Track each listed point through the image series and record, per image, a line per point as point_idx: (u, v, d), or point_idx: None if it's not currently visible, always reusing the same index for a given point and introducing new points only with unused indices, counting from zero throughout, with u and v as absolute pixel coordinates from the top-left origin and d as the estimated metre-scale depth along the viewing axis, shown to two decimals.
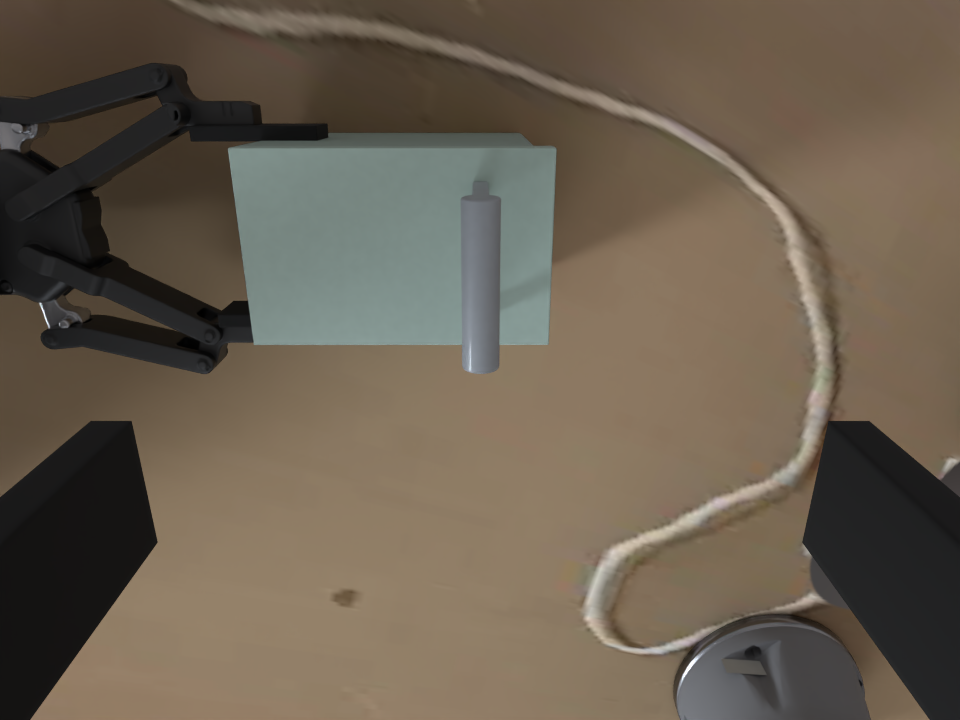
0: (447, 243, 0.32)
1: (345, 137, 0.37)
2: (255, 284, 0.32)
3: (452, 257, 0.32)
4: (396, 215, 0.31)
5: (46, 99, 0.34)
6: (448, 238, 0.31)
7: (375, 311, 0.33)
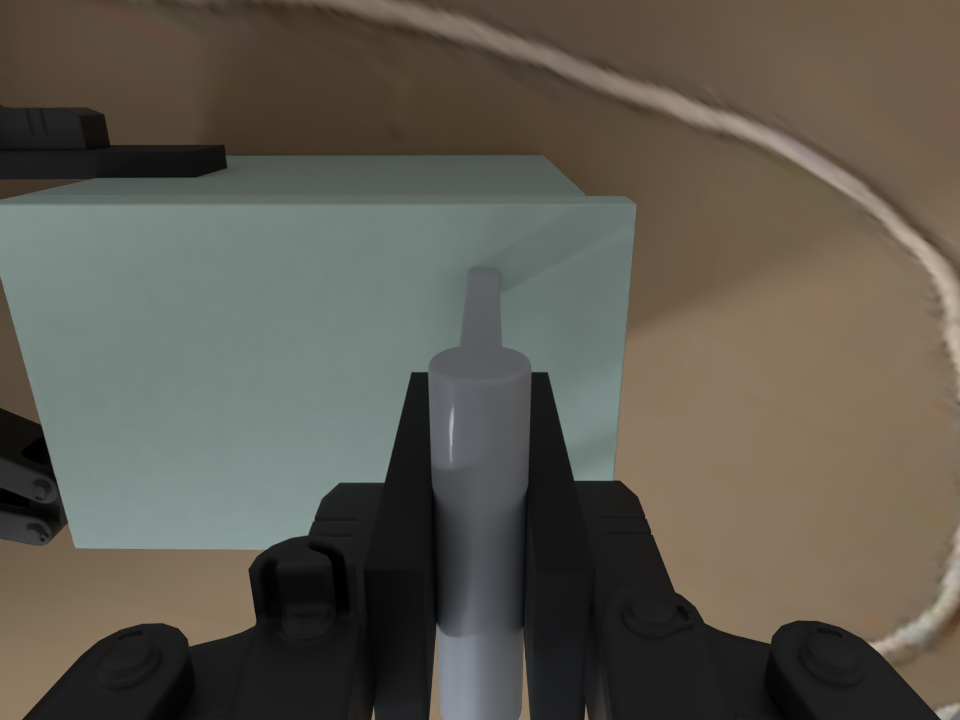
0: None
1: (255, 167, 0.22)
2: (65, 450, 0.17)
3: None
4: (320, 330, 0.16)
5: None
6: None
7: (290, 496, 0.18)
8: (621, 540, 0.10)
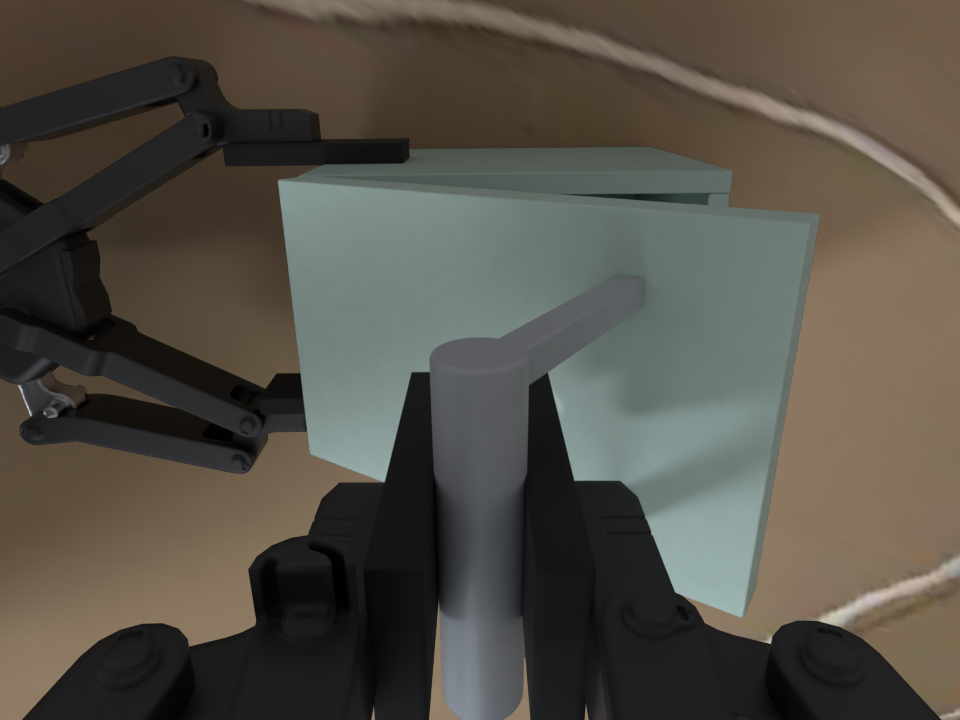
0: (563, 379, 0.17)
1: (432, 157, 0.27)
2: (309, 375, 0.22)
3: (571, 405, 0.17)
4: (484, 314, 0.17)
5: (21, 109, 0.24)
6: (565, 370, 0.17)
7: None
8: (621, 540, 0.10)
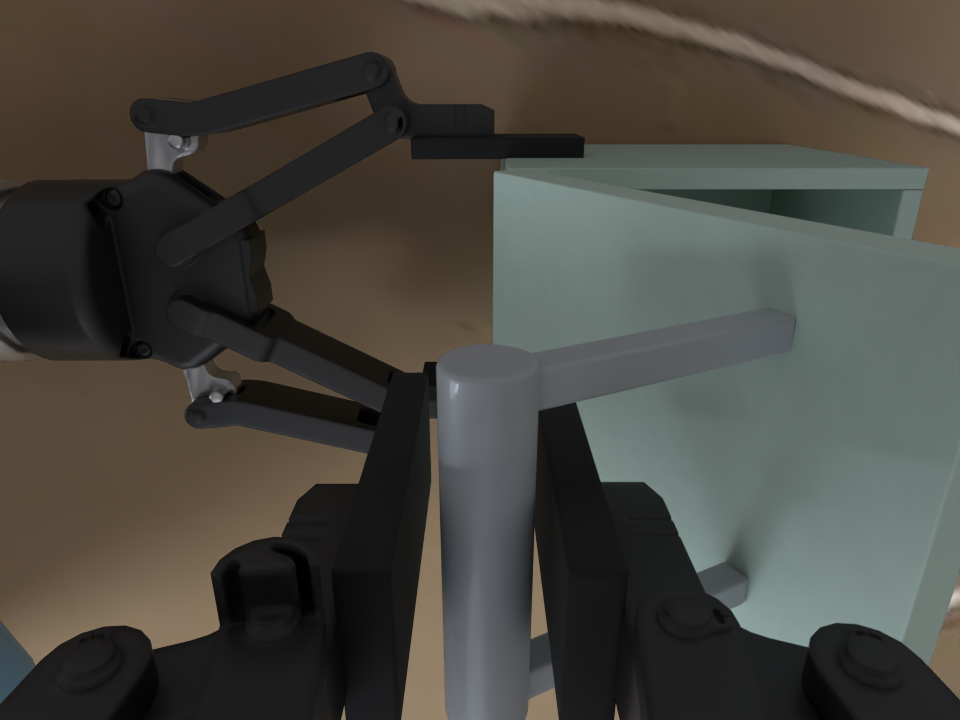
0: (702, 417, 0.15)
1: (597, 152, 0.28)
2: None
3: (705, 448, 0.15)
4: (637, 329, 0.16)
5: (219, 102, 0.25)
6: (704, 407, 0.15)
7: None
8: (649, 542, 0.10)
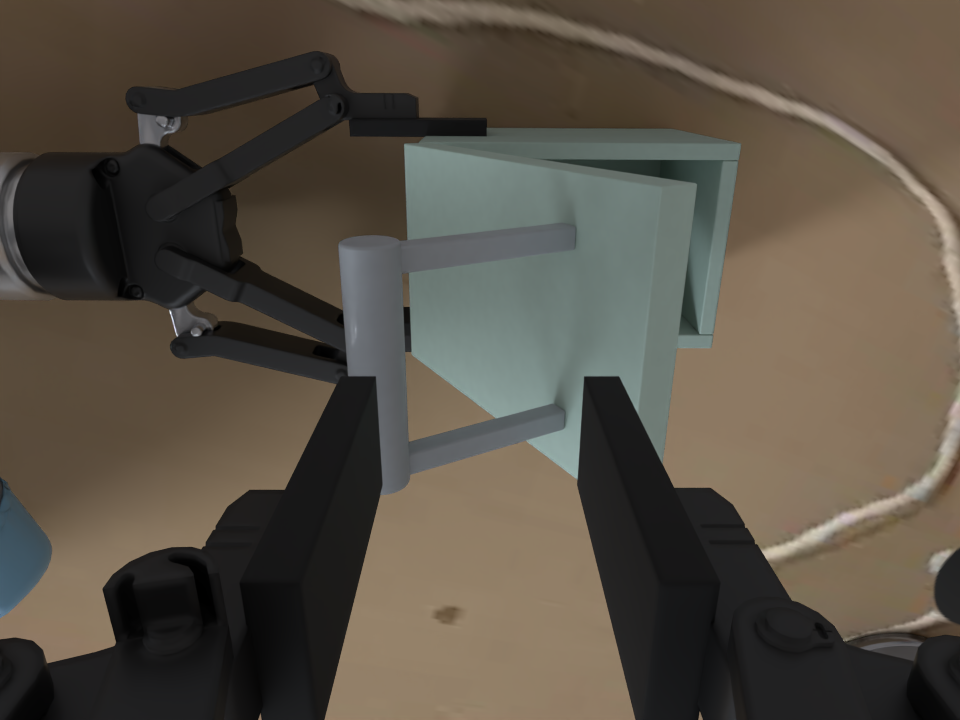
0: (535, 305, 0.21)
1: (504, 132, 0.34)
2: (413, 293, 0.30)
3: (538, 326, 0.22)
4: None
5: (196, 90, 0.31)
6: (536, 297, 0.21)
7: (478, 363, 0.26)
8: (727, 550, 0.10)
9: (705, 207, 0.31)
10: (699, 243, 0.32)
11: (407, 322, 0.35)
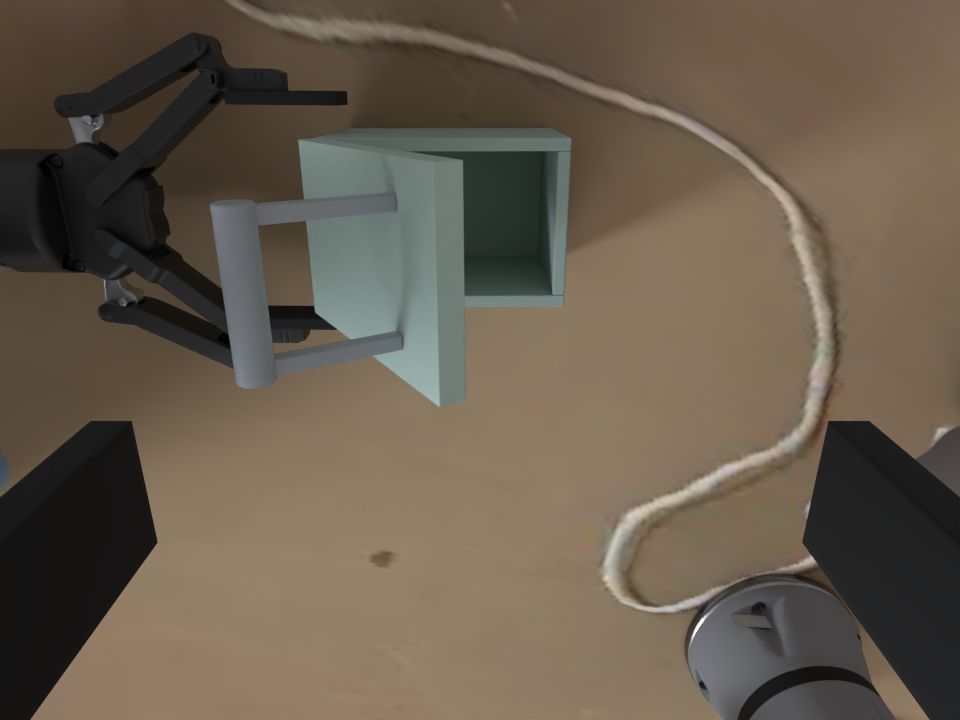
0: (380, 257, 0.29)
1: (398, 131, 0.41)
2: (312, 260, 0.37)
3: (383, 273, 0.29)
4: (356, 218, 0.30)
5: (107, 87, 0.38)
6: (380, 251, 0.28)
7: (354, 310, 0.33)
8: None
9: (553, 190, 0.38)
10: (552, 220, 0.39)
11: (288, 318, 0.43)
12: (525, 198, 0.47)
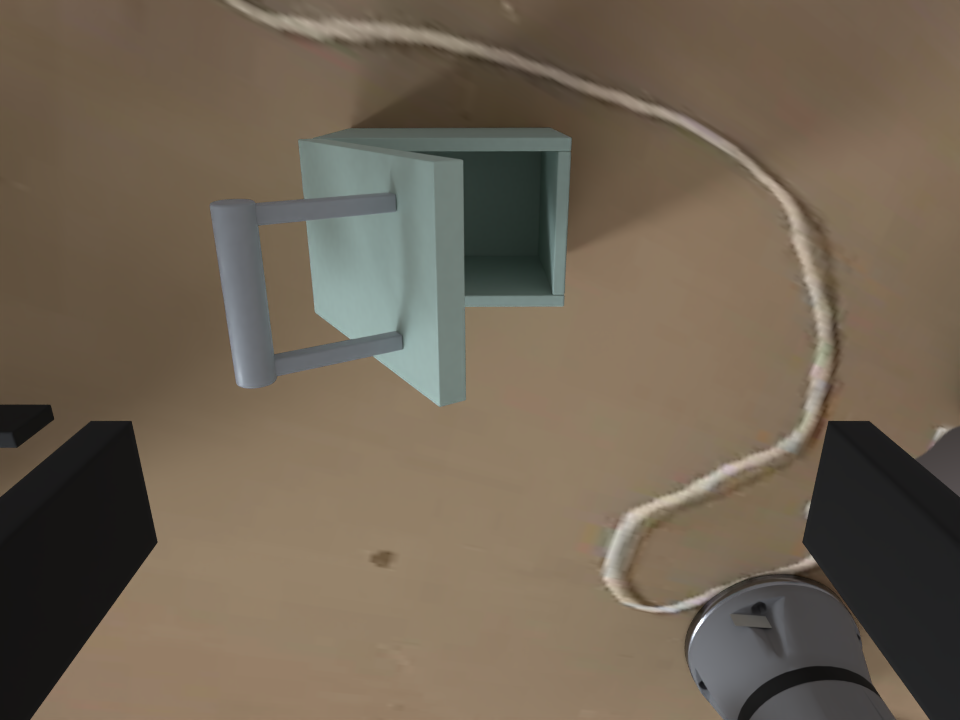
0: (380, 257, 0.29)
1: (398, 131, 0.41)
2: (312, 260, 0.37)
3: (383, 273, 0.29)
4: (356, 218, 0.30)
5: None
6: (380, 251, 0.28)
7: (354, 310, 0.33)
8: None
9: (553, 190, 0.38)
10: (552, 220, 0.39)
11: None
12: (525, 198, 0.47)
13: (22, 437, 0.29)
